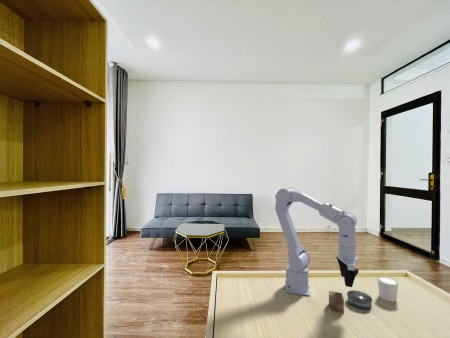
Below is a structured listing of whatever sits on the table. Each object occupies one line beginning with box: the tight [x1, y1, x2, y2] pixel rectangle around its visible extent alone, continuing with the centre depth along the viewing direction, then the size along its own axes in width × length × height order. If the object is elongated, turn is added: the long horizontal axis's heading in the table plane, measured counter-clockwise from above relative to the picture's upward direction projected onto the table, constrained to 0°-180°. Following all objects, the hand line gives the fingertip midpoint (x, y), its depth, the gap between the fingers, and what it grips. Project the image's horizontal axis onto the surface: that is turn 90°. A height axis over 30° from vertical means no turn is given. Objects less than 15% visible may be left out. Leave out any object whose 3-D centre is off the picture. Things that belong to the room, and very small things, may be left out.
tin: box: [346, 290, 373, 311], centre depth 87 cm, size 8×8×3 cm
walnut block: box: [328, 290, 345, 314], centre depth 84 cm, size 4×4×5 cm
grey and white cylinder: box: [377, 276, 399, 303], centre depth 91 cm, size 7×7×7 cm
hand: (346, 281), depth 85 cm, fingers open, 7 cm apart
